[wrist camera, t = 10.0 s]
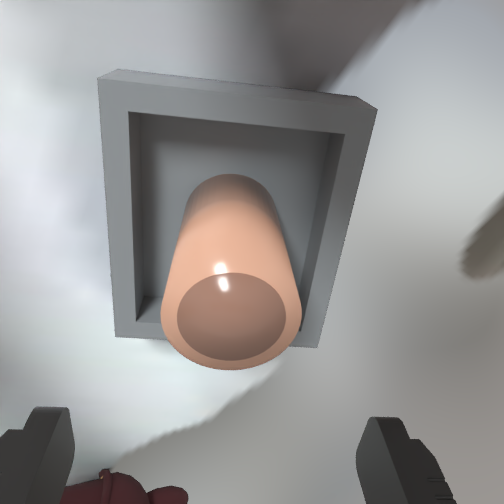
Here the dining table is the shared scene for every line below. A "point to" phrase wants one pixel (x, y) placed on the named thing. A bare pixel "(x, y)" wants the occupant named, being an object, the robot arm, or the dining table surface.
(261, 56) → the dining table surface
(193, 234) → the terracotta cup
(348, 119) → the slate tray
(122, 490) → the icecream
